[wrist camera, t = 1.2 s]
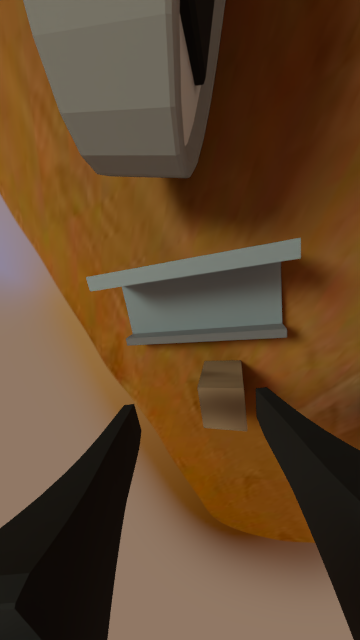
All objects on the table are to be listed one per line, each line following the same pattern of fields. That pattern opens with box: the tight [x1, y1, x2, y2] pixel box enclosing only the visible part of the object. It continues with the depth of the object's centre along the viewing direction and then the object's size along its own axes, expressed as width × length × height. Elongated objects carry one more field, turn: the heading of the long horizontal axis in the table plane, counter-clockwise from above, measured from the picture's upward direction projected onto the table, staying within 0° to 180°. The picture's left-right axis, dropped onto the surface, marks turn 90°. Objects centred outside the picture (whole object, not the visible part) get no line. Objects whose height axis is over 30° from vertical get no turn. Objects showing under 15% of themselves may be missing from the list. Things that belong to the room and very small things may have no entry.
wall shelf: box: [86, 238, 301, 345], centre depth 17 cm, size 8×16×6 cm, turn 100°
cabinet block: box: [198, 360, 247, 431], centre depth 19 cm, size 5×4×5 cm
